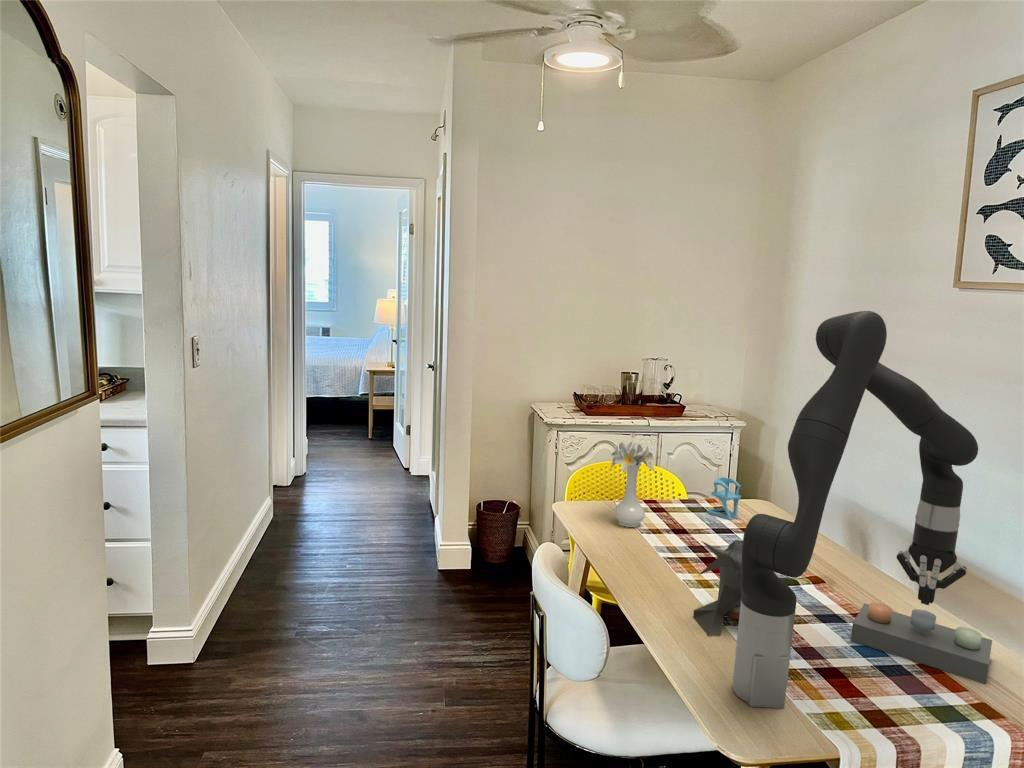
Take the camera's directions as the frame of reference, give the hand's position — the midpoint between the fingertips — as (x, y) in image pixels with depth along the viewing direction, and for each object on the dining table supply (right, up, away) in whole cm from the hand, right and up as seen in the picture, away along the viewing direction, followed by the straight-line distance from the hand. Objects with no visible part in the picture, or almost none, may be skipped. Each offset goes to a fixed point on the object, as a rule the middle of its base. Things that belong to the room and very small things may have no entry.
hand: (925, 602), depth 145 cm
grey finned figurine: (-37, -7, +11) cm, 40 cm away
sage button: (+6, -7, -4) cm, 10 cm away
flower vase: (-51, +3, +68) cm, 85 cm away
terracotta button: (-7, -5, +5) cm, 10 cm away
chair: (-18, +3, +79) cm, 81 cm away
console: (0, -10, +1) cm, 10 cm away
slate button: (0, -5, +1) cm, 5 cm away
